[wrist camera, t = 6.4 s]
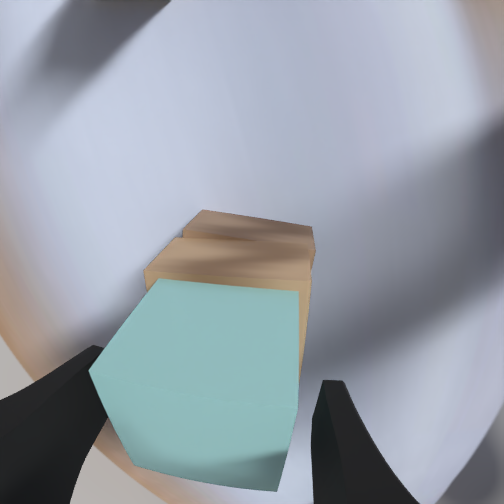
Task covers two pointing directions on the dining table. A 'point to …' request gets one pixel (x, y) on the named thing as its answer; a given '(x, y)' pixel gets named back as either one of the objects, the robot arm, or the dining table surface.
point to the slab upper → (238, 268)
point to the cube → (205, 382)
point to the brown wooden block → (248, 229)
